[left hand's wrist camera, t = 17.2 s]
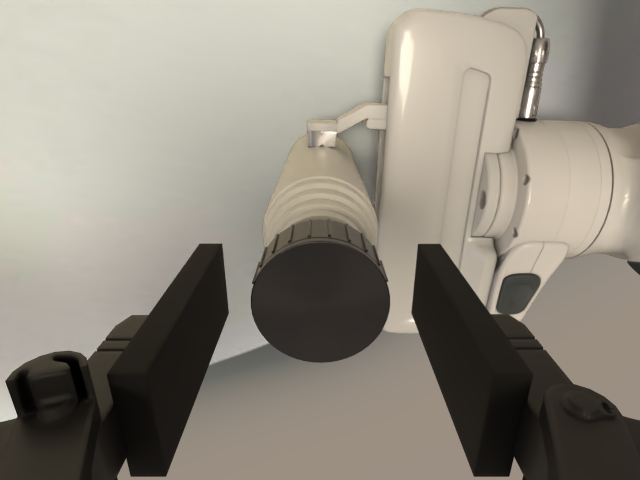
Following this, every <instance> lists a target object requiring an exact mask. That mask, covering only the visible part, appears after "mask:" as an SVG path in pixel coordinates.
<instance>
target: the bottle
mask: <svg viewBox="0 0 640 480" xmlns="http://www.w3.org/2000/svg"><path fill="white" fill-rule="evenodd" d="M309 219H311V220H318V219H322V220H328V219H330V220H332V221H337V222H340V223H344V224H346V223H347V224H348V225H349V226H351V227H352V228H354V229H356V230H357V231H359V232H360V233H364V236H365V237H366V238H367V239H368V240H369V241H370V243H371V244H372V245H375V247H377V240H378V222H377V217H376V214H375V211H374V208H373V206H372V203H371V201H370V198H369V196H368V193H367V191H366V188H365V186H364V183H363V181H362V178H361V176H360V173H359V171H358V168H357V166H356V163H355V161H354V158H353V156H352V153H351V151H350V149H349V147H348V146H347V144H346V143H345V142H344V141H343V140H342V139H341V138H339V137H338V136H337V140H336V148H329V147H324V146H323V145H321V146H319V147H309V146H307V135H305V136H303V137H302V138H300V139H299V140H298V141H297V142H296V143H295V144H294V145H293V147H292V149H291V151H290V153H289V155H288V158H287V160H286V163H285V165H284V168H283V170H282V173H281V175H280V178H279V180H278V183H277V185H276V188H275V191H274V193H273V196H272V198H271V201H270V203H269V206H268V208H267V211H266V214H265V217H264V222H263V240H264V247H268V246H269V244H270V243H271V242H272V240H273V239H274V238H275V236H276V234H280V233H281V232H282V231H284V230H285V229H287V228H289V227H291V225H292V224H293V225H295V224H298V223H301V222H304V221H309Z"/></svg>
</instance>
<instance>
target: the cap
mask: <svg viewBox="0 0 640 480" xmlns="http://www.w3.org/2000/svg"><path fill="white" fill-rule="evenodd" d="M387 282H388V278H387V275H386V272H385V269H384V266H383V263H382V260H379V257H378V254H377V250H376V247H375V245H372V244H371V243H370V241H369V240H368V239H367V238H366V237H365V236H364V233H360V232H359V231H357V230H356V229H354V228H352V227H351V226H349V225H348V224H347V223H346V224H344V223H340V222H337V221H332V220H330V219H328V220H322V219H318V220H311V219H309V221H304V222H301V223H298V224H295V225H293V224H292V225H291V227H289V228H287V229H285V230H284V231H282V232H281V233H280V234H276V236H275V238H274V239H273V240H272V242H271V243H270V244H269V246H268V247H265V249H264V252H263V255H262V258H261V262H259V264H258V267H257V270H256V273H255V276H254V279H253V282H252V284H254V285H253V289H252V294H251V309H252V315H253V318H254V321H255V323H256V325H257V327H258V329H259V331H260V332H261V334H262V335H263V337H264V338H265V339H266V340H267V341H268V342H269V343H270V344H271V345H272V346H273V347H275V348H276V349H278V350H279V351H281V352H282V353H284V354H286V355H288V356H290V357H293V358H296V359H299V360H303V361H308V362H321V363H322V362H333V361H338V360H342V359H345V358H348V357H351V356H353V355H355V354H357V353H359V352H360V351H362V350H363V349H365V348H366V347H368V346H369V345H370V344H371V343H372V342H373V341H374V340H375V339H376V338H377V337H378V335H379V334H380V332H381V331H382V329H383V328H384V326H385V323H386V321H387V318H388V315H389V310H390V293H389V288H388V285H387Z"/></svg>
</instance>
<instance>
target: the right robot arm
mask: <svg viewBox="0 0 640 480" xmlns="http://www.w3.org/2000/svg"><path fill="white" fill-rule="evenodd" d="M535 29H536V34H537V38H534V33H535ZM549 50H550V39H549V38H545V31H544V26H543V23H542V21H541V19H540V18H539V16H538V15H537V14H536V13H535V12H533V11H532V10H530V9H527V8H519V7H496V8H493V9H490V10H488V11H486V12H484V13H483V14H481V15H480V16H474V15H469V14H463V13H457V12H451V11H443V10H433V9H412V10H409V11H406V12H405V13H403V14H402V15H401V16H399V17H398V18H397V19H396V20H395V21H394V22H393V24H392V25H391V26H390V27H389V29H388V31H387V39H386V52H385V66H384V80H383V93H382V103H365V102H364V103H362V104H360V105H358V106H357V107H355V108H353V109H351V110H350V111H348V112H346V113H344V114H343V115H341V116H339V117H337V118H336V120H308V122H307V146H309V147H319V146H321V145H323V146H324V147H329V148H336V140H337V134H339V133H341V132H343V131H344V130H346V129H348V128H350V127H352V126H354V125H355V124H357V123H359V122H361V121H363V124H364V125H365V126H366V127H367V128H368V129H380V134H379V147H378V161H377V174H376V188H375V202H374V211H375V214H376V217H377V222H378V240H377V247H376V250H377V254H378V257H379V260H382V263H383V266H384V269H385V272H386V275H387V278H388V282H387V285H388V288H389V293H390V310H389V315H388V318H387V321H386V323H385V326H384V328H383V330H384V331H386V332H391V333H419V332H418V329H417V327H416V324H415V321H414V319H413V316H412V314H411V311H412V301H413V290H414V280H415V269H416V259H417V248H418V244H441V245H442V247H443V248H444V250H445V251H446V252H447V254H448V255H449V257H450V258H451V259H452V261H453V262H454V264H455V265H456V266H457V268H458V269H459V271H460V272H461V273H462V275H463V276H464V278H465V279H466V280H467V282H468V283H469V285H470V286H471V287H472V289H473V290H474V292H475V293H476V294H477V296H478V297H479V299H480V300H481V302H482V303H483V304H484V306H485V307H486V309H487V310H488V311H489V313H490V314H509V315H510V316H512V317H514V318H515V319H517V320H518V321H521V320H522V318H523V317H524V315H525V314H526V312H527V311H528V309H529V307H530V306H531V304H532V302H533V301H534V299H535V298H536V296H537V295H538V293H539V292H540V290H541V289H542V287H543V286H544V284H545V283H546V281H547V280H548V279H549V277H550V276H551V275H552V273H553V272H554V271H555V270H556V269H557V267H558V266H559V265H560V264H561V263H562V261H563V260H564V259H571V258H576V257H581V256H585V255H589V254H596V253H602V254H607V255H610V256H613V257H617V258H621V259H627V260H628V261H627V263H628V264H629V265H630V266H631V267H632V268H633V269H634V270H635V271H636V272H637V273H638V274H639V275H640V123H638V124H633V125H629V126H626V127H622V128H607V127H604V126H602V125H599V124H596V123H592V122H586V121H557V120H536V114H537V109H538V104H539V99H540V93H541V85H542V83H541V82H542V78H541V77H542V76H543V73H542V72H543V70H544V66H545V63H547V60H548V56H549Z"/></svg>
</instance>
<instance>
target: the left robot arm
mask: <svg viewBox="0 0 640 480" xmlns="http://www.w3.org/2000/svg"><path fill="white" fill-rule="evenodd" d="M228 314H229V311H228V301H227V290H226V280H225V269H224V259H223V248H222V244H199V245H198V247H197V248H196V250H195V251H194V252H193V254H192V255H191V257H190V258H189V259H188V261H187V262H186V264H185V265H184V266H183V268H182V269H181V271H180V272H179V273H178V275H177V276H176V278H175V279H174V280H173V282H172V283H171V285H170V286H169V287H168V289H167V290H166V292H165V293H164V294H163V296H162V297H161V299H160V300H159V302H158V303H157V304H156V306H155V307H154V309H153V310H152V311H151V313H150V314H149V315H132V316H130V317H129V318H127V319H126V320H124V321H123V322H121V323H120V324H118V325H117V326H115V328H114V329H113V330H112V331H111V332H110V334H109V335H108V336H107V337H106V341H103V342H102V344H101V345H100V346H99V347H98V348H97V351H95V352H94V353H93V355H92V356H91V357H90V358H89V359H88V361H87V358H86V357H85V356H83V355H82V354H81V353H78V352H73V351H61V352H54V353H50V354H46V355H43V356H39V357H37V358H35V359H33V360H31V361H29V362H26V363H25V364H23V365H22V366H20V367H19V368H18V369H16V370H15V371H13V372H12V374H11V375H10V376H9V377H8V378H7V380H6V381H5V382H6V385H7V387H8V390H9V393H10V396H11V399H12V401H13V404H14V407H15V410H16V413H17V416H18V417H17V418H16V419H12V420H8V421H4V422H0V480H118V479H117V475H118V473H119V471H120V469H121V467H122V465H123V463H124V461H125V459H126V458H127V463H128V467H129V471H130V475H131V476H133V477H134V476H136V477H140V476H141V477H146V476H147V477H148V476H149V477H150V476H151V477H153V476H154V477H155V476H156V477H157V476H158V477H159V476H161V477H162V476H165V477H166V475H167V473H168V470H169V467H170V465H171V462H172V459H173V457H174V454H175V452H176V449H177V446H178V444H179V441H180V438H181V436H182V433H183V431H184V428H185V426H186V423H187V420H188V418H189V415H190V413H191V410H192V407H193V405H194V402H195V399H196V397H197V394H198V392H199V389H200V386H201V384H202V381H203V379H204V376H205V374H206V371H207V368H208V366H209V363H210V361H211V358H212V355H213V353H214V350H215V347H216V345H217V342H218V340H219V337H220V334H221V332H222V329H223V327H224V324H225V321H226V319H227V316H228ZM411 314H412V316H413V319H414V321H415V324H416V327H417V329H418V332H419V334H420V337H421V340H422V342H423V345H424V347H425V350H426V353H427V355H428V358H429V361H430V363H431V366H432V368H433V371H434V374H435V376H436V379H437V381H438V384H439V387H440V389H441V392H442V394H443V397H444V399H445V402H446V405H447V407H448V410H449V413H450V415H451V418H452V420H453V423H454V426H455V428H456V431H457V433H458V436H459V439H460V441H461V444H462V446H463V449H464V452H465V454H466V457H467V459H468V462H469V465H470V467H471V470H472V473H473V475H474V476H475V477H479V476H480V477H485V476H486V477H490V476H491V477H502V476H503V477H508V476H509V475H510V471H511V467H512V463H513V458H514V457H515V459H516V461H517V463H518V465H519V467H520V469H521V471H522V473H523V479H522V480H640V420H635V419H631V418H627V417H624V416H622V415H621V413H620V412H619V410H618V409H617V407H616V406H615V405H614V404H613V403H611V402H610V401H609V400H608V399H606V398H605V397H604V396H602V395H600V394H598V393H596V392H594V391H592V390H591V389H588V388H585V387H581V386H578V385H575V384H573V383H572V382H571V381H570V380H569V378H568V377H567V376H566V375H565V373H564V372H563V371H562V370H561V369H560V367H559V366H558V365H557V364H556V362H555V361H554V360H553V359H552V358H551V356H550V355H549V354H548V353H547V351H546V350H543V347H542V345H541V344H540V343H539V342H538V341H537V340H535V337H534V336H533V334H532V333H531V332H530V331H529V330H528V328H527V327H526V326H525V325H524V324H523V323H521V322H520V321H518V320H517V319H515V318H514V317H512V316H510V315H509V314H490V313H489V311H488V310H487V309H486V307H485V306H484V304H483V303H482V302H481V300H480V299H479V297H478V296H477V294H476V293H475V292H474V290H473V289H472V287H471V286H470V285H469V283H468V282H467V280H466V279H465V278H464V276H463V275H462V273H461V272H460V271H459V269H458V268H457V266H456V265H455V264H454V262H453V261H452V259H451V258H450V257H449V255H448V254H447V252H446V251H445V250H444V248H443V247H442V245H441V244H418V248H417V259H416V269H415V280H414V290H413V301H412V311H411Z"/></svg>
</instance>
